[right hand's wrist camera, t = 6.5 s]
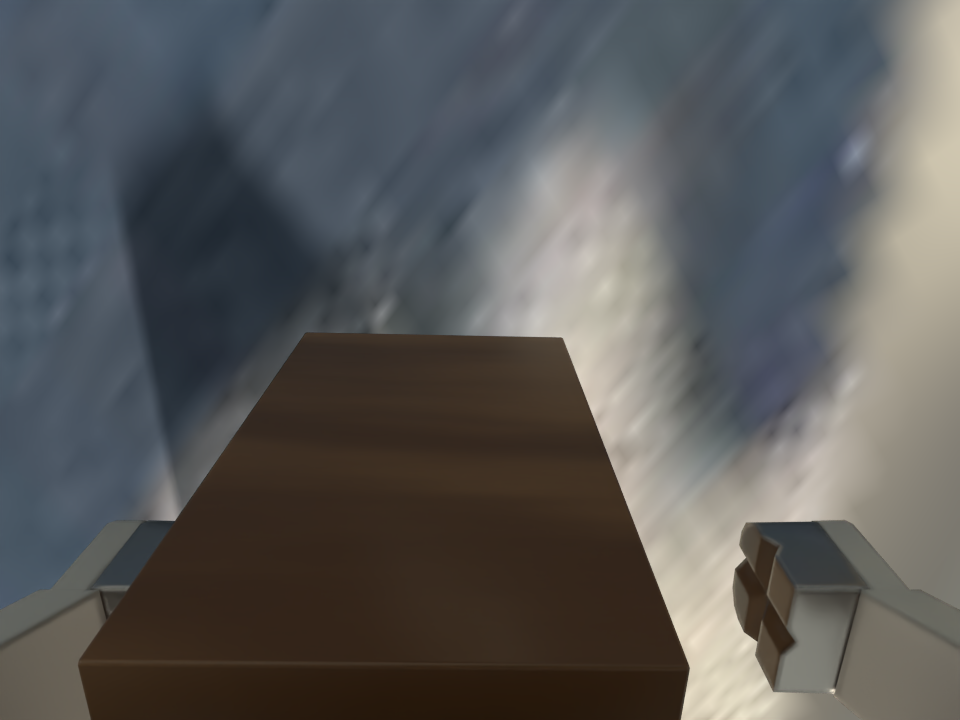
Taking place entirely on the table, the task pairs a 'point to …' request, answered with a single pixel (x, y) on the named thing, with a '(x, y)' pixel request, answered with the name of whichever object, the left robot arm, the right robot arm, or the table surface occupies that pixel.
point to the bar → (400, 554)
